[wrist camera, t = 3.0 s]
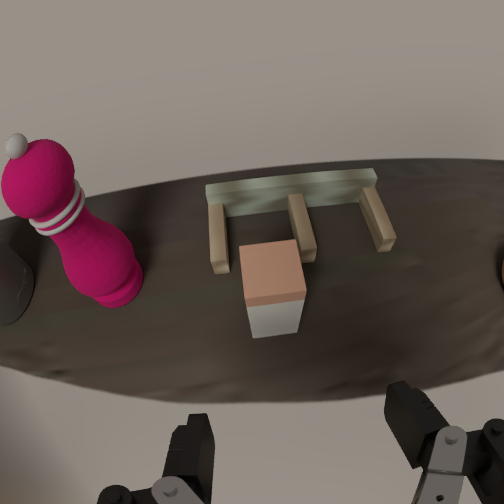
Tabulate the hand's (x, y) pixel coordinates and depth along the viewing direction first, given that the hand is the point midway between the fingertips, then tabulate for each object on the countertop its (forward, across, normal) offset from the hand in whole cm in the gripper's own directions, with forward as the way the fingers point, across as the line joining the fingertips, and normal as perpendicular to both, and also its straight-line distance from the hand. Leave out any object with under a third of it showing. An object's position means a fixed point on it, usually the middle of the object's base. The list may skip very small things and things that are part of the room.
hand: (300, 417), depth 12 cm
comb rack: (+22, -4, -4) cm, 23 cm away
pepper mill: (+20, +16, -1) cm, 26 cm away
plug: (+16, 0, +2) cm, 17 cm away
